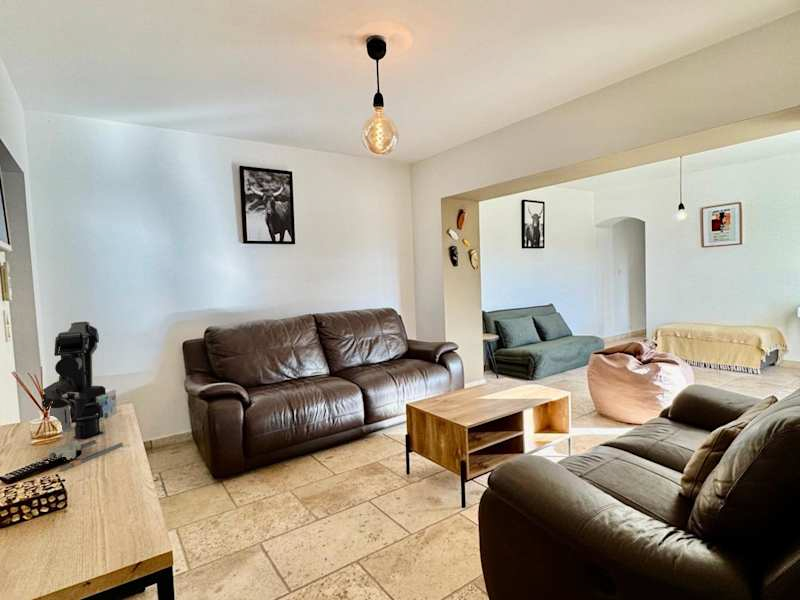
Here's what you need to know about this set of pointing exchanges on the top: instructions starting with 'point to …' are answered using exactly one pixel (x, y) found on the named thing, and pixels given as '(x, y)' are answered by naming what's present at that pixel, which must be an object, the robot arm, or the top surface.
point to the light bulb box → (108, 403)
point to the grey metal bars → (78, 462)
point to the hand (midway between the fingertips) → (78, 416)
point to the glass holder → (59, 412)
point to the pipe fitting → (66, 450)
